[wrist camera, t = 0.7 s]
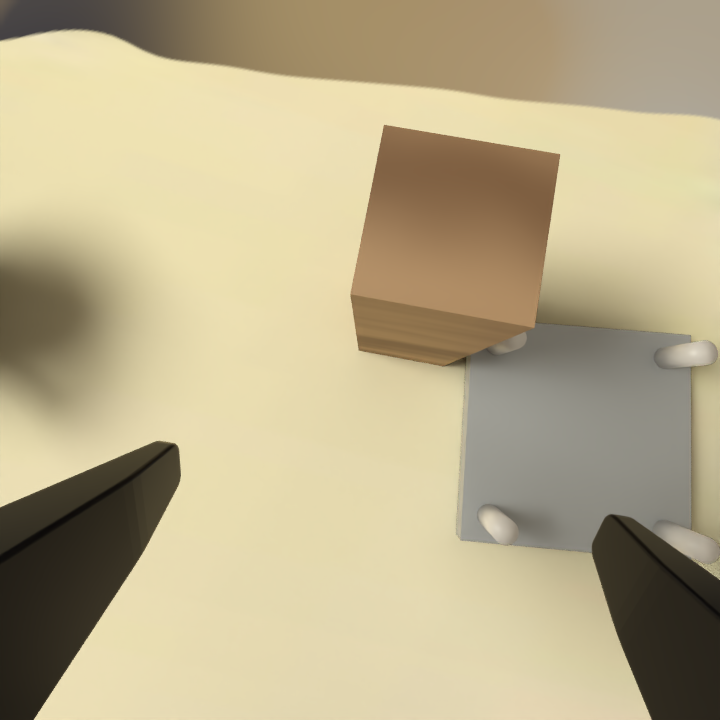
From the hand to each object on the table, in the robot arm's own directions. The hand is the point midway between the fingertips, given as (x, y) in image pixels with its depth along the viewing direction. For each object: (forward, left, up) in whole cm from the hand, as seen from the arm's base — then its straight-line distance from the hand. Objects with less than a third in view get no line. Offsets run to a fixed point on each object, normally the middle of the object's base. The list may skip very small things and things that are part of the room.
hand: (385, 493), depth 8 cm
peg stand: (+1, -11, -14) cm, 18 cm away
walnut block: (+7, -2, -14) cm, 16 cm away
